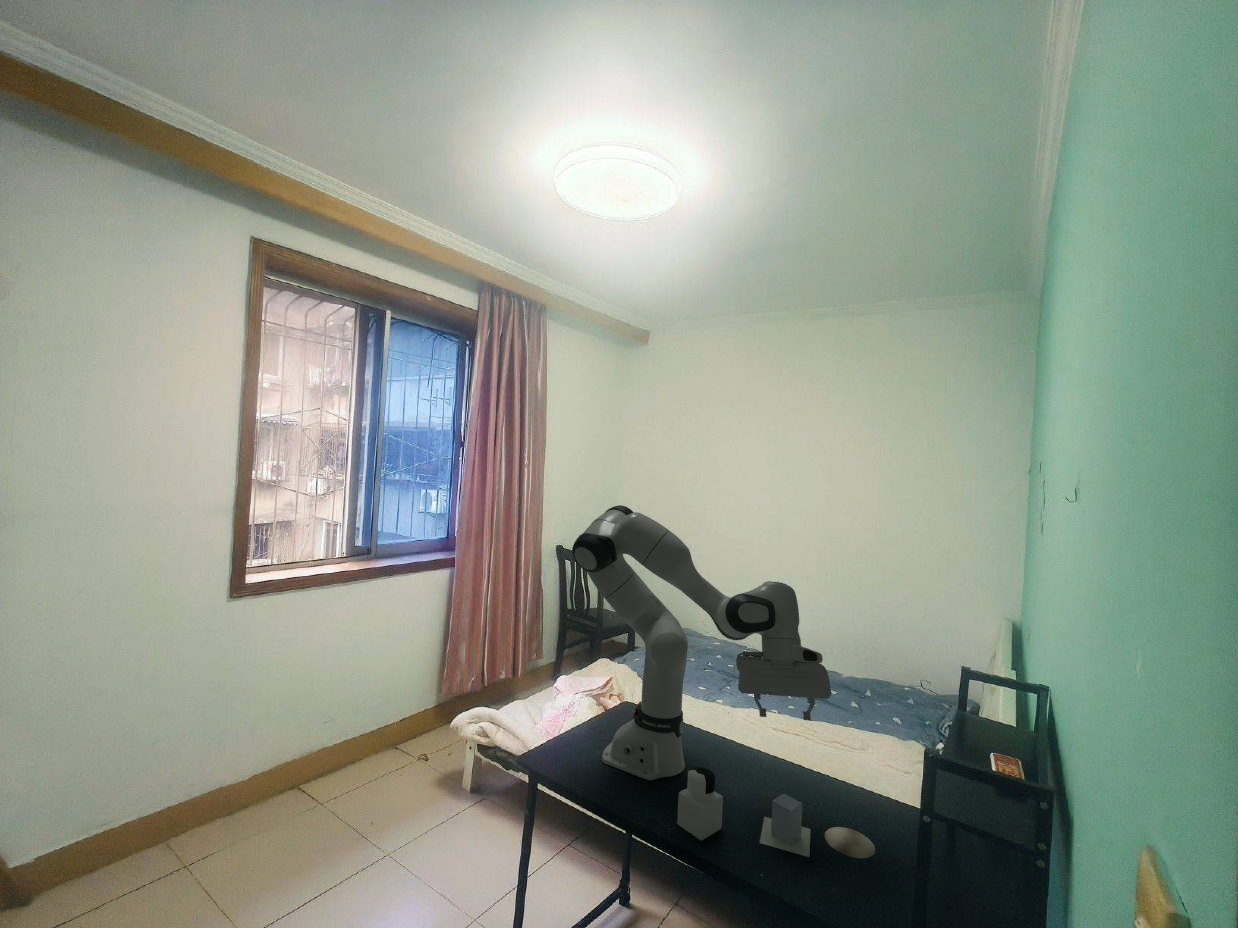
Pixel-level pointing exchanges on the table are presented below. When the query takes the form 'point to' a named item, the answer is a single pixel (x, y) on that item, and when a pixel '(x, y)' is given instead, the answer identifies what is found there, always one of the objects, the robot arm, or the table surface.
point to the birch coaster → (849, 842)
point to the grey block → (786, 819)
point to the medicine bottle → (700, 804)
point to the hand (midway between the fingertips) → (784, 718)
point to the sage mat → (797, 847)
